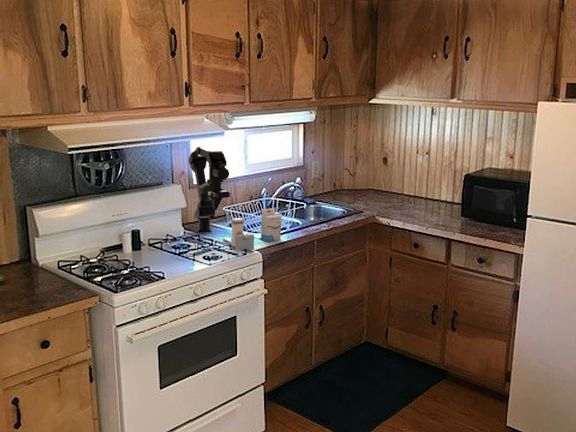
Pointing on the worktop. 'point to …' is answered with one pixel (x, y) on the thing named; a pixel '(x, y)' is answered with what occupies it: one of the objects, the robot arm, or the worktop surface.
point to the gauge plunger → (243, 235)
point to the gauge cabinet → (244, 242)
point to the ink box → (270, 225)
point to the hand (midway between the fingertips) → (215, 210)
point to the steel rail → (227, 240)
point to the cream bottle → (236, 228)
